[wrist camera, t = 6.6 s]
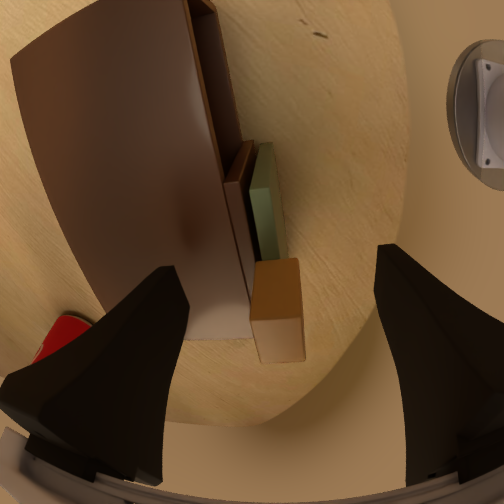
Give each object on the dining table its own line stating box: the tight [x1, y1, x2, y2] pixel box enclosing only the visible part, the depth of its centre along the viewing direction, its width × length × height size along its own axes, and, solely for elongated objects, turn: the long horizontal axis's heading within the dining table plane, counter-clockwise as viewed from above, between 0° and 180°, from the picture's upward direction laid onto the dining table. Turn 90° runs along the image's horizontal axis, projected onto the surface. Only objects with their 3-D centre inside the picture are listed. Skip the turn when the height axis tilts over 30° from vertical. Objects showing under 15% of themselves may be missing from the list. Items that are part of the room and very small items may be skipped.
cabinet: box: [10, 0, 262, 340], centre depth 13 cm, size 9×16×7 cm, turn 10°
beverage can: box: [30, 315, 93, 365], centre depth 22 cm, size 6×6×12 cm
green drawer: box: [249, 142, 306, 364], centre depth 13 cm, size 2×8×10 cm, turn 10°
